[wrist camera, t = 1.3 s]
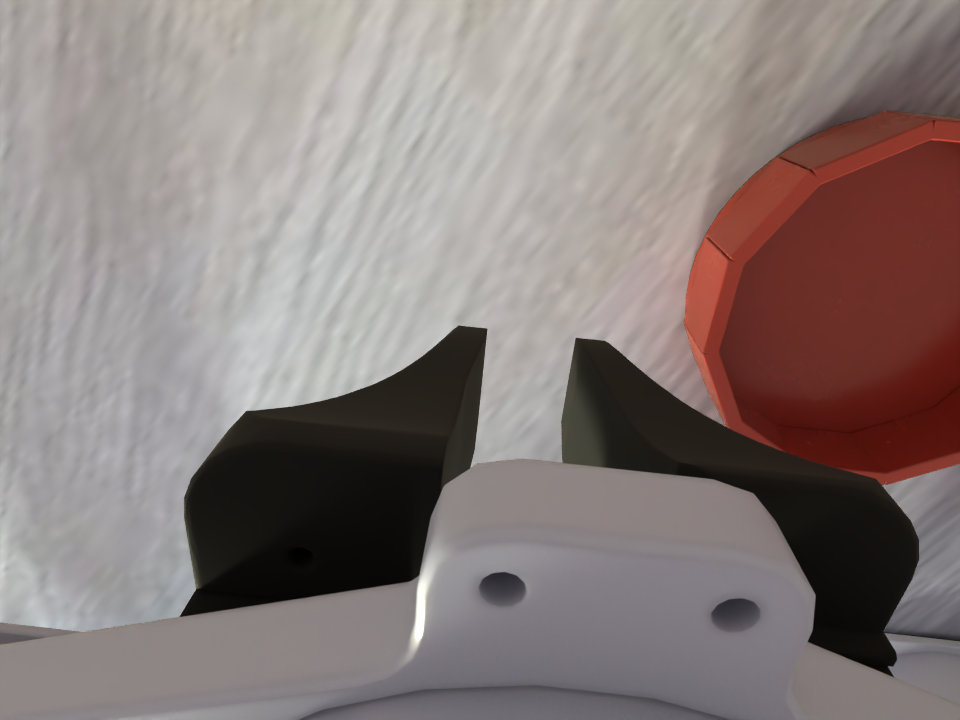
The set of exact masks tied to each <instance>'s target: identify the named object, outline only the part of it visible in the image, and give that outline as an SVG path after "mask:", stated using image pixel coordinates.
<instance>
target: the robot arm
mask: <svg viewBox="0 0 960 720" xmlns="http://www.w3.org/2000/svg"><path fill="white" fill-rule="evenodd" d="M486 337H487V329H485V328H476V327H466V326H458V327H456V328H455V329H454V330H452V331H451V332H450V333H449V334H448V335H447V336H446V337H445V338H444V339H443V340H441V341H440V342H439V343H438V344H437V345H436V346H435V347H433V348H432V349H431V350H430V351H428V352H427V353H426V354H425V355H423V356H422V357H421V358H419V359H418V360H416V361H415V362H414V363H412V364H411V365H409V366H408V367H406V368H405V369H403V370H401V371H400V372H398V373H396V374H394V375H392V376H390V377H388V378H386V379H384V380H382V381H380V382H378V383H376V384H373V385H371V386H368V387H365V388H363V389H360V390H357V391H354V392H351V393H348V394H345V395H343V396H339V397H336V398H332V399H328V400H324V401H320V402H315V403H310V404H305V405H299V406H293V407H284V408H275V409H266V410H257V411H246V412H245V413H244V414H243V415H242V416H241V417H240V419H239V420H238V421H237V422H236V423H235V424H234V425H233V426H232V427H231V428H230V429H229V430H228V432H227V433H226V434H225V435H224V437H223V438H222V439H221V440H220V442H219V443H218V444H217V445H216V447H215V448H214V449H213V451H212V452H211V453H210V455H209V456H208V457H207V459H206V460H205V461H204V462H203V464H202V465H201V466H200V468H199V469H198V470H197V472H196V473H195V474H194V476H193V477H192V478H191V481H190V484H189V486H188V489H187V492H186V494H185V497H184V519H185V525H186V531H187V537H188V543H189V548H190V554H191V560H192V566H193V572H194V578H195V584H196V588H197V589H196V591H195V592H194V594H193V595H192V597H191V599H190V600H189V602H188V604H187V605H186V607H185V609H184V610H183V612H182V614H181V615H180V617H177V618H171V619H164V620H158V621H151V622H145V623H138V624H132V625H125V626H119V627H113V628H106V629H100V630H93V631H87V632H79V631H70V630H61V629H52V628H43V627H34V626H26V625H17V624H8V623H0V720H960V641H952V640H943V639H934V638H925V637H916V636H907V635H898V634H889V633H884V632H883V631H884V629H885V627H886V625H887V624H888V622H889V620H890V618H891V616H892V614H893V613H894V611H895V609H896V607H897V605H898V604H899V602H900V600H901V598H902V596H903V595H904V593H905V591H906V589H907V587H908V586H909V584H910V582H911V580H912V578H913V575H914V572H915V569H916V567H917V564H918V561H919V539H918V536H917V534H916V532H915V530H914V527H913V525H912V523H911V521H910V519H909V518H908V517H907V516H906V514H905V513H904V512H903V511H902V510H901V508H900V507H899V506H898V505H897V504H896V502H895V501H894V500H893V499H892V497H891V496H890V495H889V494H888V493H887V491H886V490H885V489H884V488H883V486H882V485H881V484H880V483H879V482H878V480H877V479H875V478H872V477H868V476H864V475H860V474H857V473H853V472H849V471H846V470H842V469H838V468H834V467H831V466H827V465H823V464H819V463H816V462H813V461H810V460H807V459H804V458H801V457H798V456H795V455H792V454H789V453H786V452H783V451H781V450H778V449H775V448H773V447H770V446H768V445H765V444H763V443H760V442H758V441H755V440H753V439H751V438H749V437H747V436H744V435H742V434H740V433H738V432H736V431H733V430H731V429H729V428H727V427H725V426H723V425H721V424H719V423H717V422H715V421H714V420H712V419H710V418H708V417H707V416H705V415H703V414H701V413H700V412H698V411H696V410H695V409H693V408H691V407H690V406H688V405H686V404H685V403H683V402H682V401H680V400H679V399H678V398H676V397H675V396H673V395H672V394H671V393H669V392H668V391H666V390H665V389H664V388H662V387H661V386H660V385H658V384H657V383H656V382H654V381H653V380H652V379H651V378H649V377H648V376H647V375H646V374H644V373H643V372H642V371H641V370H640V369H639V368H637V367H636V366H635V365H634V364H633V363H632V362H630V361H629V360H628V359H627V358H626V357H625V356H624V355H622V354H621V353H620V352H619V351H618V350H617V349H615V348H614V347H613V346H612V345H610V344H609V343H608V342H606V341H600V340H591V339H581V338H576V340H575V346H574V351H573V357H572V363H571V369H570V375H569V380H568V386H567V392H566V398H565V403H564V409H563V415H562V421H561V423H562V459H563V463H557V462H548V461H538V460H529V459H515V460H506V461H496V462H487V463H478V464H476V465H475V466H473V467H472V468H470V466H471V462H472V458H473V454H474V450H475V442H476V433H477V425H478V416H479V406H480V396H481V386H482V376H483V367H484V357H485V347H486Z"/></svg>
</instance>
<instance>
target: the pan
mask: <svg viewBox="0 0 960 720" xmlns="http://www.w3.org/2000/svg"><path fill="white" fill-rule="evenodd" d="M684 322H685V324H684V326H685V329H686V332H687V335H688V339H689V342H690V346H691V350H692V353H693V355H694V358H695V360H696V362H697V364H698V367H699V369H700V372H701V374H702V377H703V380H704V383H705V386H706V389H707V392H708V394H709V395H710V397H711V399H712V401H713V403H714V405H715V406H716V408H717V410H718V412H719V414H720V416H721V417H722V419H723V421H724V423H725V425H726V427H727V428H729V429H731V430H733V431H736V432H738V433H740V434H742V435H744V436H747V437H749V438H751V439H753V440H755V441H758V442H760V443H763V444H765V445H768V446H770V447H773V448H775V449H778V450H781V451H783V452H786V453H789V454H792V455H795V456H798V457H801V458H804V459H807V460H810V461H813V462H816V463H819V464H823V465H827V466H831V467H834V468H838V469H842V470H846V471H849V472H853V473H857V474H860V475H864V476H868V477H872V478H875V479H877V480H878V482H879V483H880V484H881V485H884V484H885V485H888V484H891V483H895V482H898V481H902V480H905V479H909V478H912V477H916V476H919V475H923V474H926V473H930V472H933V471H937V470H940V469H944V468H947V467H950V466H954V465H957V464H960V118H958V117H947V116H937V115H931V114H917V113H906V112H896V111H886V112H881V113H878V114H876V115H873V116H871V117H867V118H862V119H858V120H854V121H850V122H846V123H843V124H841V125H838V126H835V127H832V128H829V129H827V130H824V131H821V132H819V133H817V134H815V135H813V136H811V137H809V138H807V139H805V140H803V141H801V142H799V143H797V144H796V145H794V146H792V147H791V148H789V149H788V150H786V151H785V152H783V153H781V154H780V155H778V156H777V157H775V158H774V159H773V160H771V161H770V162H769V163H768V164H766V165H765V166H764V167H763V168H761V169H760V170H759V171H758V172H756V173H755V174H754V175H753V176H752V177H751V178H750V179H749V180H748V181H747V182H746V183H745V184H744V185H743V186H742V187H741V188H740V189H739V190H738V191H737V192H736V193H735V194H734V195H733V196H732V198H731V199H730V200H729V201H728V203H727V204H726V205H725V206H724V208H723V209H722V210H721V211H720V213H719V214H718V216H717V217H716V219H715V221H714V222H713V224H712V225H711V227H710V229H709V230H708V232H707V233H706V235H705V238H704V240H703V242H702V244H701V246H700V248H699V250H698V252H697V255H696V258H695V261H694V264H693V267H692V270H691V273H690V277H689V283H688V288H687V294H686V311H685V319H684Z"/></svg>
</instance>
